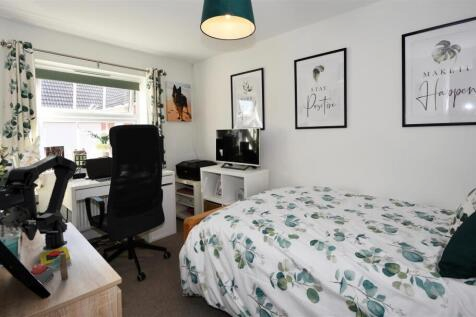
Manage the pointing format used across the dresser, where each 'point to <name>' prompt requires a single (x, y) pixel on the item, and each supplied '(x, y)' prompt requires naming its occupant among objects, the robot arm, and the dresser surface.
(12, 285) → the dresser surface
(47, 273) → the popper housing
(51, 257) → the emergency button
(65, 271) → the finish flag
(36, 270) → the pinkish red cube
